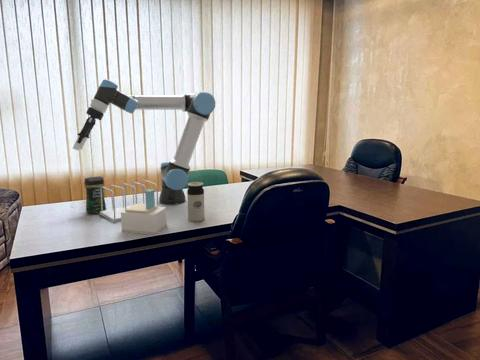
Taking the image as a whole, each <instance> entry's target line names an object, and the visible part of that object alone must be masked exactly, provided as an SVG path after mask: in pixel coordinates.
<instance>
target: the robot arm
mask: <svg viewBox="0 0 480 360" xmlns="http://www.w3.org/2000/svg"><path fill="white" fill-rule="evenodd" d="M118 88H119V86H118V84H117V83H115V82H113V81H112V80H110V79H108V78H104V79H102V82H101V83H100V85H99V86H98V88H97V90H96V92H95V95H94V97H93V99H91V100H90V106H89V107H87V110H86V111H85V112H86V115H89V117H88V118H87V119H86V120H85V123H84V125H83V126H82V129H81V130H80V132H78V133H77V139H76V140H75V142H74V144H73V147H72V149H74V150H76V151H79V150H81V151H82V149H83V148H84V146H85V143H86V142H87V140H88V139H90V134H91V132H92V129H93V128H94V126H95V125H96V121H97V120H99V121H101V120H103V117H104V114H105V113H106V112H107V109H108V108H109V105H110V104H112V105H113V106H116V107H117V108H119V109H120V110H122V111H125V112H126V113H129V114H131V115H132V114H134V112H135V110H136V111H138V110H140V111H142V110H144V111H145V110H147V111H150V110H153V111H155V110H157V111H158V110H159V111H163V110H165V111H166V110H167V111H169V110H171V111H174V110H175V111H180V110H181V111H182V112H184V113H185V112H186V113H187V115H188V119H187V121H186V123H185V126H184V129H183V131H182V135H181V138H180V140H179V142H178V146H177V148H176V152H175V154H174V157H173V159H170V160H169V161H168V162H167V161H165V162H161V163H160V168H159V169H160V177H161V179H160V181H161V190H160V194H159V196H158V203H160V204H161V205H162V204H163V205H179V204H182V203H185V202H187V201H186V199H187V198H186V195H185V192H184V188H185V187H186V186H187V185H188V183H189V182H188V181H189V173H190V171H191V167H190V162H191V160H192V156H193V154H194V151H195V149H196V145H197V143H198V141H199V137H200V134H201V132H202V129H203V127H204V123H207V122H208V121H209V119H210V115H211V113H213V111H214V110H215V108H216V100H215V96H213V95H212V93H210V92H207V91H204V90H203V91H197V92H193V93H182V94H181V95H146V94H145V95H138V94H137V95H135V94H134V95H133V94H132V95H129V94H126V93H124V92H122V91H120V90H119V89H118Z"/></svg>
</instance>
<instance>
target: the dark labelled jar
mask: <svg viewBox="0 0 480 360" xmlns="http://www.w3.org/2000/svg"><path fill="white" fill-rule="evenodd" d="M187 186H188V188H187V191H186V194H187V198H186V199H187V220H188V221H190V222H193V223H194V222H196V223H197V222H202V221H205V189H204V188H203V187H204V182H201V181H200V182H199V181H191V182H187Z"/></svg>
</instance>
